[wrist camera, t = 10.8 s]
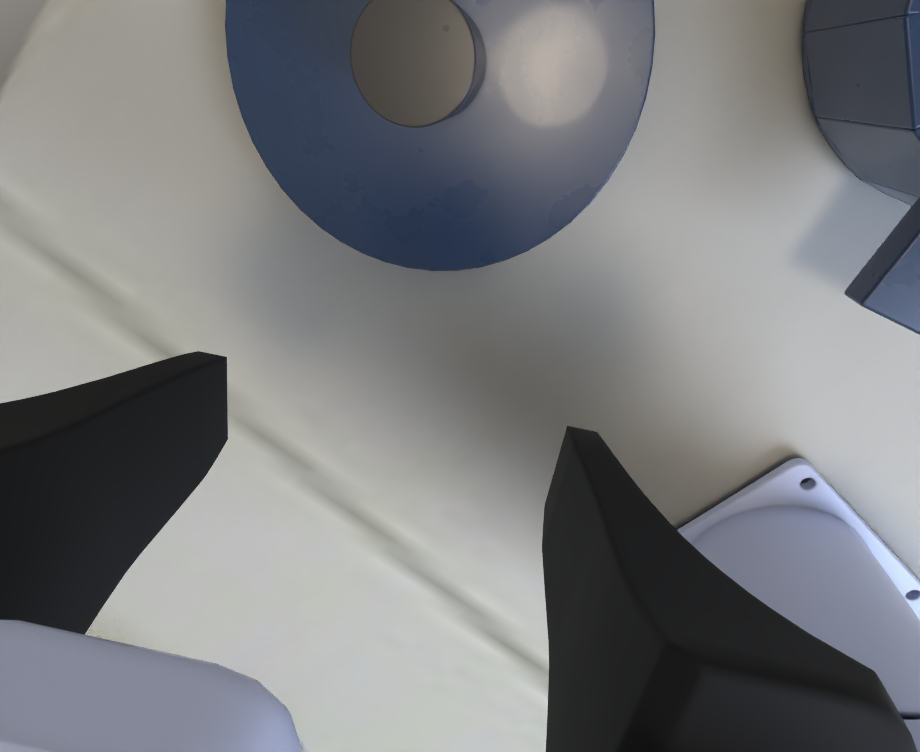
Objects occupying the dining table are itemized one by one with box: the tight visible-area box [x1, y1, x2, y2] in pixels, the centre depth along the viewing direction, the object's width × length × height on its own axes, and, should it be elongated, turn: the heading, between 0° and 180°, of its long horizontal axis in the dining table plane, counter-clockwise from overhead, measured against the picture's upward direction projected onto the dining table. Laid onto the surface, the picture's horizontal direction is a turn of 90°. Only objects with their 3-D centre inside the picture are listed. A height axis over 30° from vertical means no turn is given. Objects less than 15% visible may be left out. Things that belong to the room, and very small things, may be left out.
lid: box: [225, 0, 655, 271], centre depth 16 cm, size 12×12×4 cm
